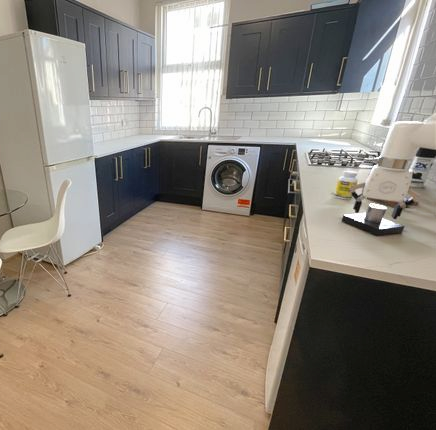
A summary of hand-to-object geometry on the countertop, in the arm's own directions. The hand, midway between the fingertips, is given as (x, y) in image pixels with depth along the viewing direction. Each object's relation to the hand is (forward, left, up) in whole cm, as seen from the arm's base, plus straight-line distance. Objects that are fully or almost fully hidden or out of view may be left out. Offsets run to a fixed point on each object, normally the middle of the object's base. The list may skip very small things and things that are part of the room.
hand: (374, 214), depth 93 cm
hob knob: (0, 0, -2) cm, 2 cm away
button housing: (+18, -33, -5) cm, 38 cm away
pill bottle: (+28, -20, -5) cm, 35 cm away
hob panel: (0, 0, -5) cm, 5 cm away
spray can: (+34, -68, -5) cm, 76 cm away
